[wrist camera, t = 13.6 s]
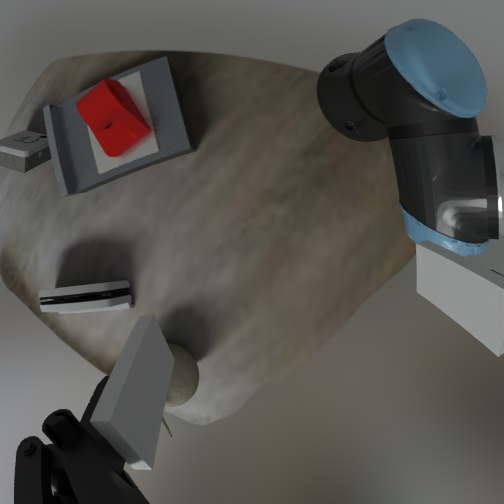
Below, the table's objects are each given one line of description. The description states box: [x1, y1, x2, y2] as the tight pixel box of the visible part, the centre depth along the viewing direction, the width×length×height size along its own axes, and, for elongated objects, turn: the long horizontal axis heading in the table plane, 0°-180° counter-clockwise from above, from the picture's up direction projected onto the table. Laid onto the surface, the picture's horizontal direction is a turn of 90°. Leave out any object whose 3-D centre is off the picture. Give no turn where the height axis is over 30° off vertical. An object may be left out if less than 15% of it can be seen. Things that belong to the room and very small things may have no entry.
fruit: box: [162, 343, 199, 437], centre depth 42 cm, size 10×12×15 cm
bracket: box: [76, 78, 151, 157], centre depth 27 cm, size 9×6×10 cm
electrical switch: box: [0, 131, 52, 173], centre depth 32 cm, size 9×5×9 cm, turn 70°
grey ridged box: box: [43, 56, 196, 197], centre depth 34 cm, size 19×14×8 cm
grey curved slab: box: [39, 280, 134, 314], centre depth 41 cm, size 17×5×10 cm, turn 97°
